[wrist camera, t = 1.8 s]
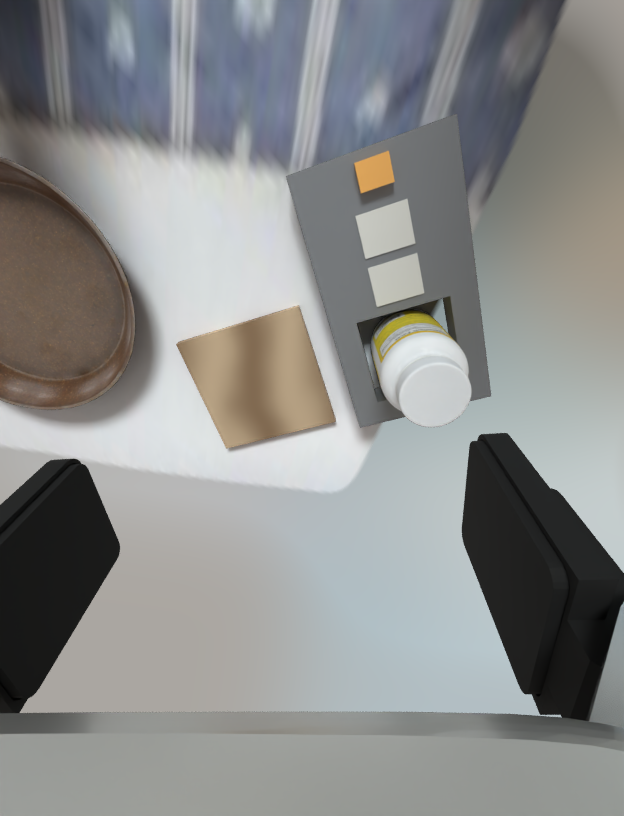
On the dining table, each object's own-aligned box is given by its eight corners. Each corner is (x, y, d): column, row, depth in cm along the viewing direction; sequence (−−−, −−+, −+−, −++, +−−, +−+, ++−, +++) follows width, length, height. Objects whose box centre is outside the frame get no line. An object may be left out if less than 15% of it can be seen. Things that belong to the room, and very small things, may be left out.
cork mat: (298, 305, 30) (298, 307, 29) (335, 418, 34) (335, 421, 34) (178, 341, 32) (176, 344, 31) (228, 444, 36) (226, 448, 35)
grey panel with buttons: (445, 121, 24) (459, 111, 22) (480, 382, 32) (494, 399, 29) (289, 178, 26) (284, 175, 23) (358, 412, 34) (360, 431, 31)
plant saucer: (149, 413, 35) (134, 430, 32) (-58, 372, 34) (-91, 387, 32) (152, 186, 27) (132, 185, 24) (-120, 126, 26) (-172, 118, 23)
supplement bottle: (432, 377, 32) (468, 444, 23) (364, 370, 32) (376, 433, 23) (449, 310, 30) (498, 356, 21) (376, 302, 30) (394, 345, 21)
